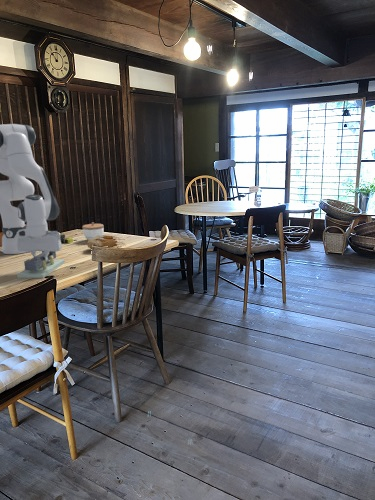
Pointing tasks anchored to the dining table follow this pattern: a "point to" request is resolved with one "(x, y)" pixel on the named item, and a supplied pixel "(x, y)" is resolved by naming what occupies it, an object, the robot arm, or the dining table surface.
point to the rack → (41, 269)
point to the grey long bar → (38, 260)
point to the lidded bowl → (92, 230)
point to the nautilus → (103, 241)
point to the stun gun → (65, 239)
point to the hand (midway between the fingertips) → (41, 260)
